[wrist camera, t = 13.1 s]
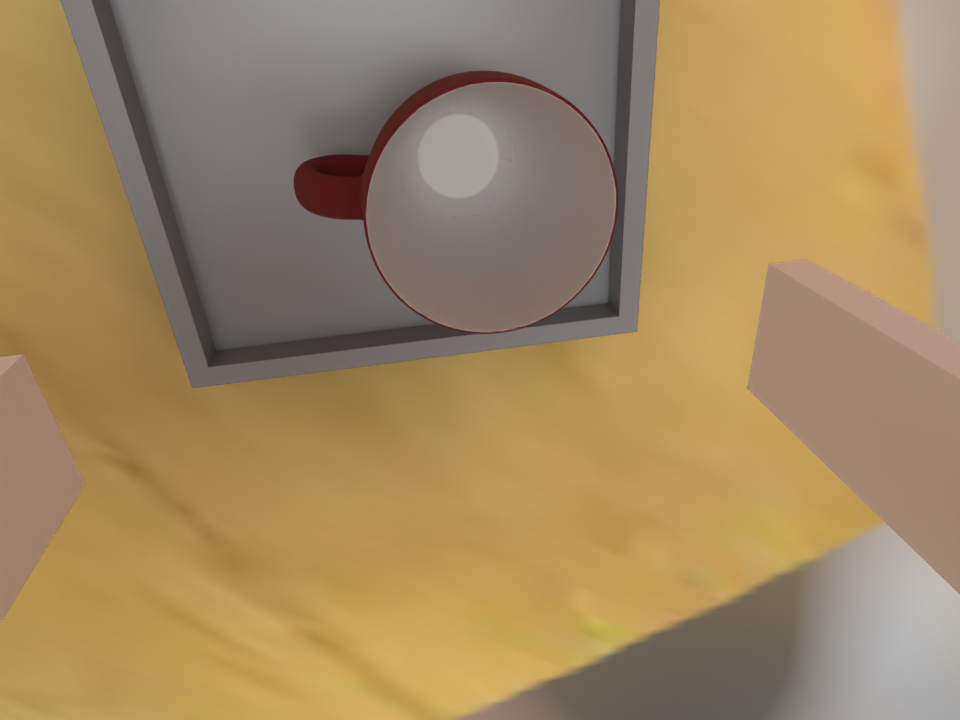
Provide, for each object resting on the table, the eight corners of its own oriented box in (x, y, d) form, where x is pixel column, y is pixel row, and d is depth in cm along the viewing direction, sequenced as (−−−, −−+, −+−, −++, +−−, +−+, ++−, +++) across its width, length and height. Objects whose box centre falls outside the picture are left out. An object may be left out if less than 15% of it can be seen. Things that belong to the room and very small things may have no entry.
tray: (204, 363, 32) (192, 388, 29) (69, -61, 23) (37, -70, 21) (620, 311, 34) (637, 331, 32) (641, -93, 25) (667, -104, 23)
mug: (333, 263, 29) (315, 366, 21) (288, 78, 25) (242, 111, 17) (550, 228, 30) (620, 314, 21) (539, 44, 26) (620, 58, 17)
